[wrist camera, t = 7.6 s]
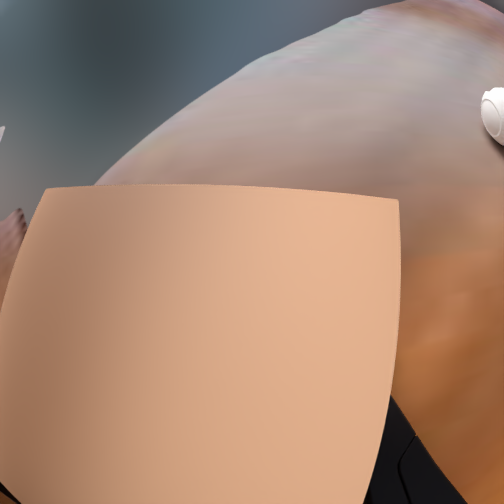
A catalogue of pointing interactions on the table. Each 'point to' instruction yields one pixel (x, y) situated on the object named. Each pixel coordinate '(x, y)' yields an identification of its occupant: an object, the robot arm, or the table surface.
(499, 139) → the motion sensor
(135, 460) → the pillar
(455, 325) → the table surface
